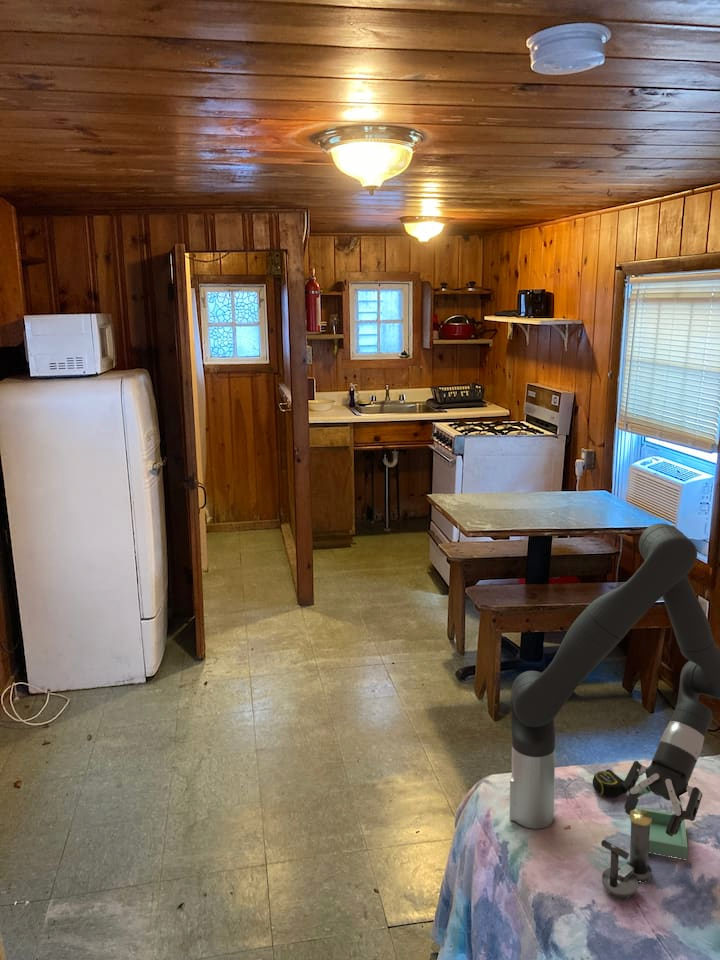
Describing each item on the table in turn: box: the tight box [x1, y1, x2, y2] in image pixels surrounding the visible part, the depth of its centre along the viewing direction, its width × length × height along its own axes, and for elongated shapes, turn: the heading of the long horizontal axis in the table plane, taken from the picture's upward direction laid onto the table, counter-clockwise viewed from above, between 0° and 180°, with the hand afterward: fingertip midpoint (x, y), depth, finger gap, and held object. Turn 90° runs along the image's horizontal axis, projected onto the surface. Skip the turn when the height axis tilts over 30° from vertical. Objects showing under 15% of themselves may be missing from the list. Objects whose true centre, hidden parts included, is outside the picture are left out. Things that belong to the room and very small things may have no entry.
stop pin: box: [625, 809, 652, 883], centre depth 145 cm, size 5×5×13 cm
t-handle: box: [600, 839, 639, 900], centre depth 141 cm, size 7×6×11 cm
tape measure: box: [592, 769, 629, 798], centre depth 172 cm, size 7×7×4 cm
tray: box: [635, 806, 688, 860], centre depth 156 cm, size 11×11×3 cm
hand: (648, 824), depth 146 cm, fingers open, 8 cm apart
